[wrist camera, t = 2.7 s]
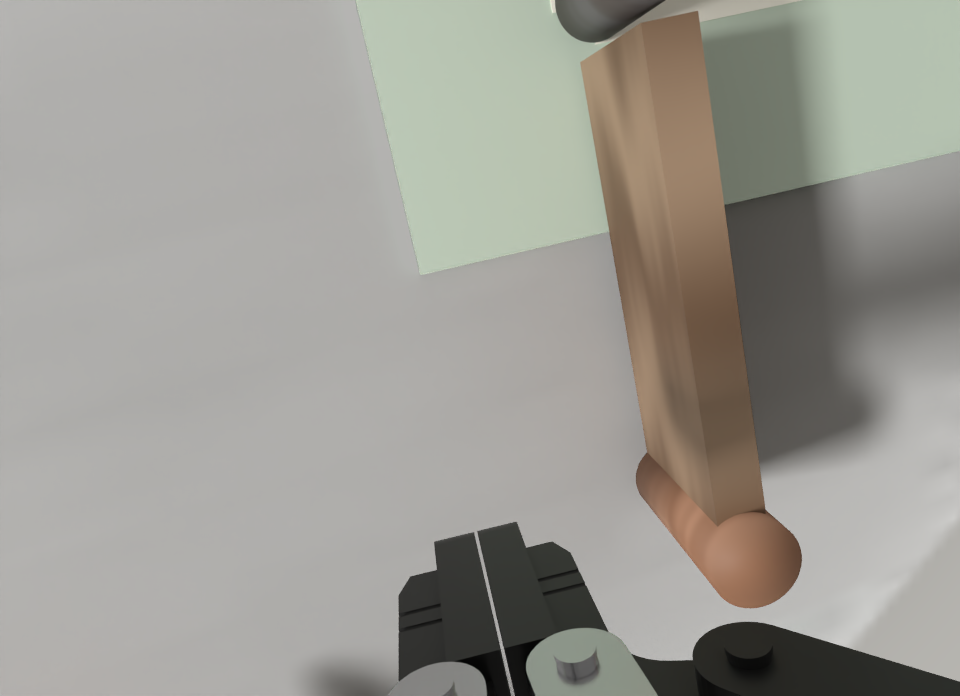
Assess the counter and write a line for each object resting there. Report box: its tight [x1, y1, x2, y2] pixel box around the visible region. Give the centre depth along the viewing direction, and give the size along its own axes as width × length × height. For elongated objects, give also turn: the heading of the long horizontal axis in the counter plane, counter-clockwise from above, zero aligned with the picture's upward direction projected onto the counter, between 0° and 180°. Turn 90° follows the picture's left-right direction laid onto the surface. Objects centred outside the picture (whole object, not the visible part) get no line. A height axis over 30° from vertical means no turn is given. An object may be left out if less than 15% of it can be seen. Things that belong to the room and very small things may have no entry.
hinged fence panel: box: [555, 0, 802, 608], centre depth 18 cm, size 16×2×6 cm, turn 12°
